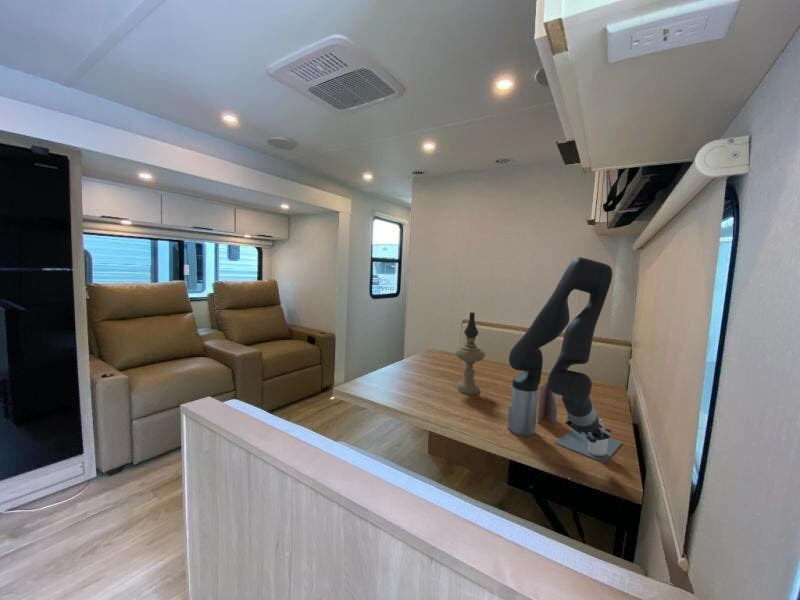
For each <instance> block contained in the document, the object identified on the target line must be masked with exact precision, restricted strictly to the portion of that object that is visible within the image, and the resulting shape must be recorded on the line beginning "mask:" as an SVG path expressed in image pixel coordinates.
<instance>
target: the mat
mask: <svg viewBox="0 0 800 600" xmlns="http://www.w3.org/2000/svg"><path fill="white" fill-rule="evenodd" d="M554 444H556V445H557V446H559V447H563V448H565V449H568V450H570V451H572V452H575V453H577V454H580V455H582V456H585V457H587V458H590V459H593V460H595V461H597V462H599V463H602V464H606V463H607V462H608V461H609V460H610V459H611V457H612V456H613V455H614V454H615V452H616V451H618V449H619V448H620V447H621V445H622V444H623V441H621V440H618V439H615V438H612V437H609V439H608V446H607V454H606V455H604V456H595V455H591V454H590V453H589V452H588V445H589V440H588V439H587V438H586V436H584V434H580V433H578V432H577V431H575V430H574V429H572V428H571V429H570V430H569V431H567V432H566V433H565V434H564V435H563V436H561V437H560V438H558V440H555V442H554ZM619 446H620V447H619ZM618 447H619V448H618Z"/></svg>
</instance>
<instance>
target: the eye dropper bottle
mask: <svg viewBox="0 0 800 600" xmlns="http://www.w3.org/2000/svg"><path fill="white" fill-rule="evenodd" d="M598 419H599V424H600V425H601V426H602V428H603V429H605V424H604V423H603V421H602V419H601V418H598ZM607 446H608V439H604V440H597V442H595V443H593V442H590V441H589V445H588V452H589V453H590V454H591V455H595V456H604V455H606V454H607Z"/></svg>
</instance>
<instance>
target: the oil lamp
mask: <svg viewBox="0 0 800 600" xmlns="http://www.w3.org/2000/svg"><path fill="white" fill-rule="evenodd" d="M475 314H476V313H475V312H473V311H472V312H469V321H468V324H467V326H466V328H465V329H464V330H463V334H464V335H465V336H466V343H465V344H462V345H461V346H460V347H458V348H457V349H456V351H455V352H454V353H455V355H456V357H457V358H458V359H459V360H461V361H463V362H464V363H465V365H466V367H465V368H464V370H463V371H462V372H463V375H464V378H463V380H462V381H461V382H459V383H458V384H457V392H459V391H460V393H461V392H462V393H461V394H465V393H466V395H476V394H479V393H480V386H479V384H478V383H477V382H476V381H475V379H474V376H475V374H476V371H475V369H474V368H473V366H474V364H475V363H476V362H480V361H482V360H483V359H484V358H485V357H486V353H485V351H484V350H483V349H482V348H481V347H480V346H479V345H476V343H475V341H476V337H477V336H478V335H479V331H478V327H476V326H477V325H476V322H475V321H476V319H475V318H476V317H475V316H476V315H475Z"/></svg>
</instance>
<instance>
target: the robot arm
mask: <svg viewBox="0 0 800 600" xmlns="http://www.w3.org/2000/svg"><path fill="white" fill-rule="evenodd" d="M612 280H613V269H612V267H611V266H610V265H608V264H606V263H603V262H600V261H597V260H593V259H589V258H585V257H576V258H574V259H573V260H572V261H571V262H570V263H569V264H568V266H567V268H566V270H565V271H564V273H563V275H562V276H561V278H560V280H559V282H558V283H557V286H556V287H555V289H554V291H553V292H552V294H551V295H550V297H549V298H548V300H547V301H546V302H545V304H544V306H543V307H542V308H541V310H540V312H539V313H537V316H536V317H535V318H534V320H533V322H532V323H531V325H530V326H529V328H527V331H525V333H524V334H523V336H522V337H521V338H520V339H519V340H518V341H517V342H516V343H515V345H513V347H512V348H511V350H510V352H509V356H508V363H509V365H510V367H511V368H512V369H513V370H515V371H519V372H521V371H522V372H521V373H520V374H518V375H516V376H515V377H513V379H512V386H511V400H510V402H511V403H509V404H508V414H507V429H509V430H510V431H511V433H514V434H516V435H519V436H524V437H530V436H534V435H535V433H536V421H537V411H538V409H537V408H538V407H537V406H538V396H539V394H538V392H539V385H540V384H541V379H542V371H543V362H544V359H543V352H542V350H541V348H542V347H544V346H546V345H547V344H549V343H551V342H553V341H554V340H556V339H557V338H558V337H560V335H561V334H562V333H563V331H564V330H565V332H564V335H563V338H562V339H563V340H562V343H561V349H560V353H559V355H558V358H557V359H556V362H555V363H554V365H553V367H552V368H551V371H550V373H549V374H548V376H547V377H548V378H547V381H548V387H549V389H550V390H551V392H553V393H555V394H558V396H561V401H562V403H563V405H564V408H565V411H566V414H567V418H566V421H565V425H567V426H568V427H569V428H571V429H574V430H575V431H577V432H578V433H580V434H584V436H586V438H587V439H588V440H589V441H590V442H593V443H595V442H597V440H604V439H609V438H611V437H610V436H611V433H612V430H611V429H608V428H604V429H603V428H602V426H601V425H600V424H599V419H600V418H599V416H598V414H597V411H596V409H595V406H594V404H593V402H592V401H591V392H592V387H593V382H592V380H591V378H590V377H589V375H587V374H586V373H584V372H579V371H574V370H569V368H570V367H571V366H572V365H574V366H575V365H585V364H588V363H589V360H590V355H591V351H592V349H591V348H592V344H593V339H594V334H595V331H596V326H597V324H598V321H599V319H600V316H601V312H602V310H603V306H604V304H605V301H606V298H607V295H608V293H609V290H610V287H611V283H612ZM573 290H577V291H581V292H583V293H586V294H589V298H588V301H587V303H586V305H585V307H584V309H582V310H581V311H580V312H579V314H577V316H575V318H574V319H572V321H570V309H569V303H568V302H569V300H568V299H569V297H570V296H569V295H571V293H572V292H573ZM569 322H570V323H569Z"/></svg>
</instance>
